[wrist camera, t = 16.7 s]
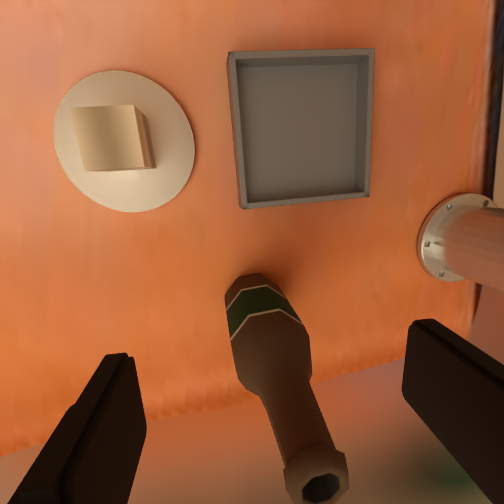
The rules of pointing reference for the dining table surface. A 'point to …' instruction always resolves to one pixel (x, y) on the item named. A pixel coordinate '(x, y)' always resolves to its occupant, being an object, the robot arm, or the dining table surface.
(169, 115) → the off-white plate
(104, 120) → the birch block
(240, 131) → the gray bin
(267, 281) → the beer bottle
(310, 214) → the dining table surface
